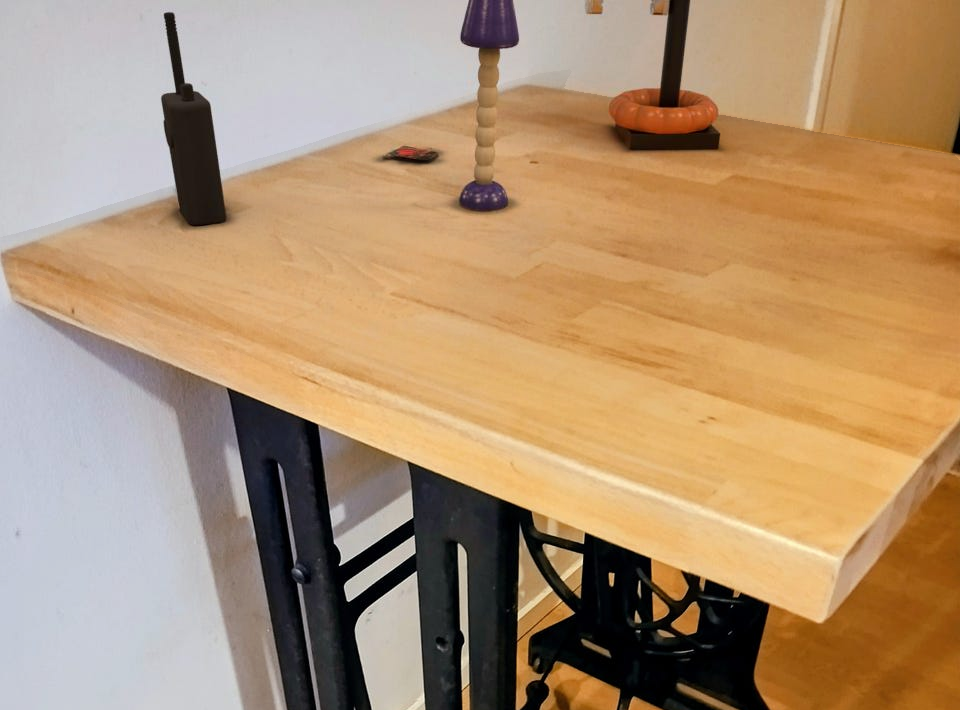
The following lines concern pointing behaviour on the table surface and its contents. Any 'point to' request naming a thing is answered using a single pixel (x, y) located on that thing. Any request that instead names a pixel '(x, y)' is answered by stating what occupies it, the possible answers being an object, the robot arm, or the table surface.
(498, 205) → the toy lamp
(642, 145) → the stand
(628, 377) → the table surface
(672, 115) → the ring
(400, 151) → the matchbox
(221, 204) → the walkie-talkie
